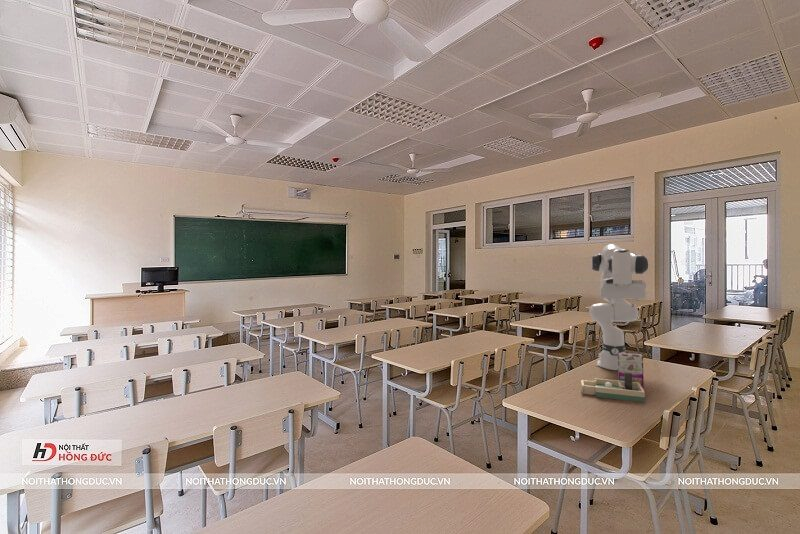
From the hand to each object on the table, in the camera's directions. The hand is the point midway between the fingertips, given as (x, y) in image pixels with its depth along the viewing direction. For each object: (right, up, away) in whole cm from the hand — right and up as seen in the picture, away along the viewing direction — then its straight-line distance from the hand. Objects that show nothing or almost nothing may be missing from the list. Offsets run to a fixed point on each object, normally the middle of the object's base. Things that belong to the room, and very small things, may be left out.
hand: (622, 307), depth 188 cm
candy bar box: (+7, -42, +4) cm, 42 cm away
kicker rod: (-5, -39, -10) cm, 41 cm away
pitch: (-11, -42, -8) cm, 44 cm away
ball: (-12, -38, -8) cm, 41 cm away
